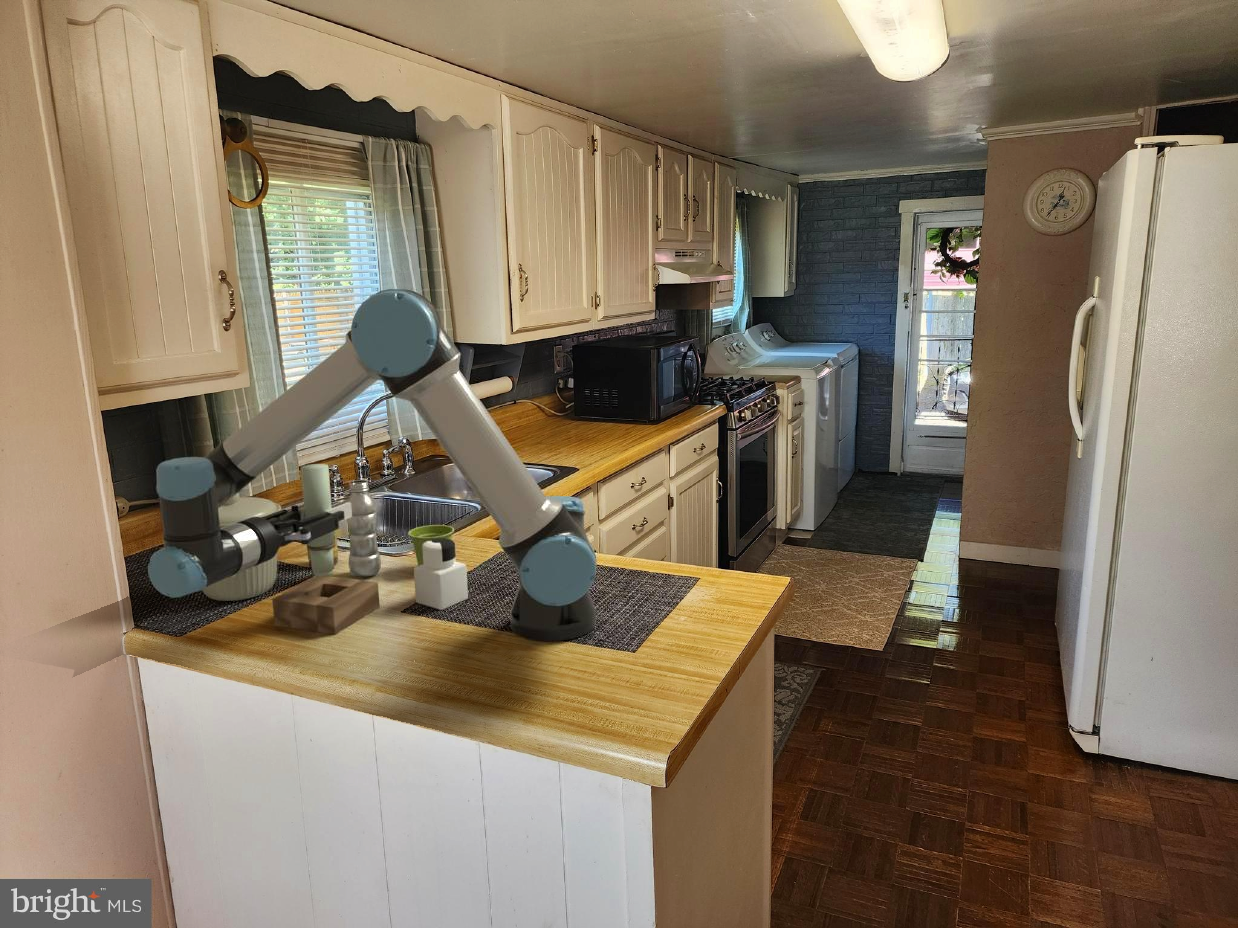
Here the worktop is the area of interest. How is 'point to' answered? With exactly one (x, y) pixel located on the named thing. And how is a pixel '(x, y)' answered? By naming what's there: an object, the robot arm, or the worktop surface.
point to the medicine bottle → (440, 575)
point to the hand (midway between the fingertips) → (337, 508)
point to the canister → (256, 576)
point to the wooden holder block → (326, 604)
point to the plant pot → (428, 537)
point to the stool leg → (314, 505)
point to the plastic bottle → (363, 531)
